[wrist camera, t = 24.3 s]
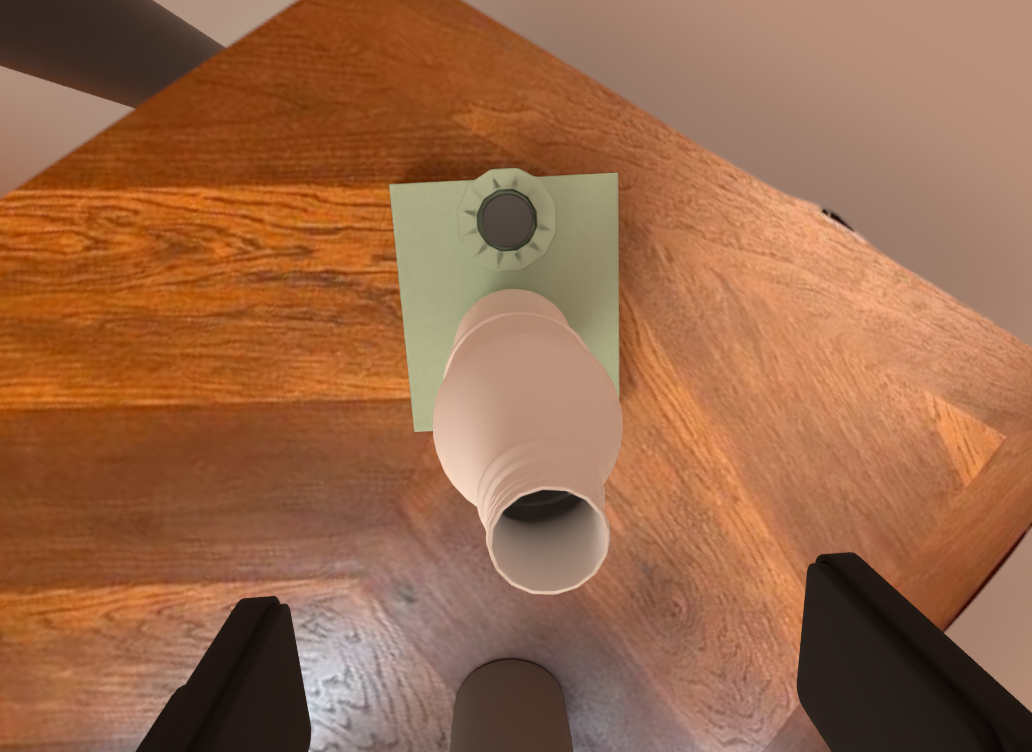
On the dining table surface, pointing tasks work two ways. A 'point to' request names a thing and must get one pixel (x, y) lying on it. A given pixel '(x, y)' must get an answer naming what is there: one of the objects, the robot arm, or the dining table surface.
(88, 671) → the dining table surface
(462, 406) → the water bottle
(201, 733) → the robot arm
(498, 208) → the button
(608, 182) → the scale
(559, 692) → the mug
